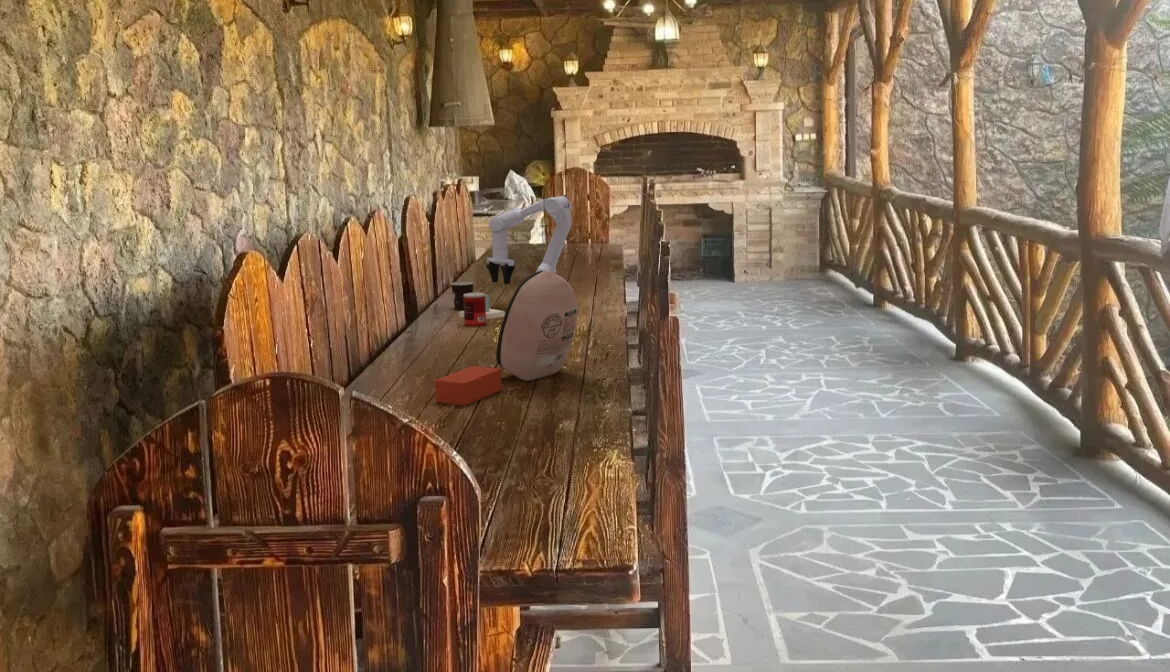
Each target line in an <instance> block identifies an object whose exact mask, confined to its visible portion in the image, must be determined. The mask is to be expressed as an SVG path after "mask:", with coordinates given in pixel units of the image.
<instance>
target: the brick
mask: <svg viewBox="0 0 1170 672" xmlns="http://www.w3.org/2000/svg"><path fill="white" fill-rule="evenodd" d="M501 373H502V369H501V368H497V367H484V366H475V365H471V366H469V367H466V368H465V369H462V370H459V371H456V372H454V373H453V372H452V373H451V374H447V375H445V376H442V377H441V378H438V379H435V380H434V391H435V403H439V402H442V404H448V403H449V405H459V406H467V404H468V405H470V404H472V403H475V402H477V401H479V400H482V399H483V398H486V397H489V396H491V395H493V394H495V393H498V392H501V391H502V374H501ZM500 390H501V391H500ZM469 403H470V404H469Z"/></svg>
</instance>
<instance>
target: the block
mask: <svg viewBox="0 0 1170 672" xmlns="http://www.w3.org/2000/svg"><path fill="white" fill-rule="evenodd" d="M485 302H486V312H489V309H490V295H489V294H485Z"/></svg>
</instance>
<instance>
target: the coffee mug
mask: <svg viewBox="0 0 1170 672" xmlns="http://www.w3.org/2000/svg"><path fill="white" fill-rule="evenodd" d="M450 285H451V292H452V293H451V294H452V298H453V306H454V310H455V311H464V300H463V296H464V294H467V293H474V282H471V281H459V282H452V283H450Z"/></svg>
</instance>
